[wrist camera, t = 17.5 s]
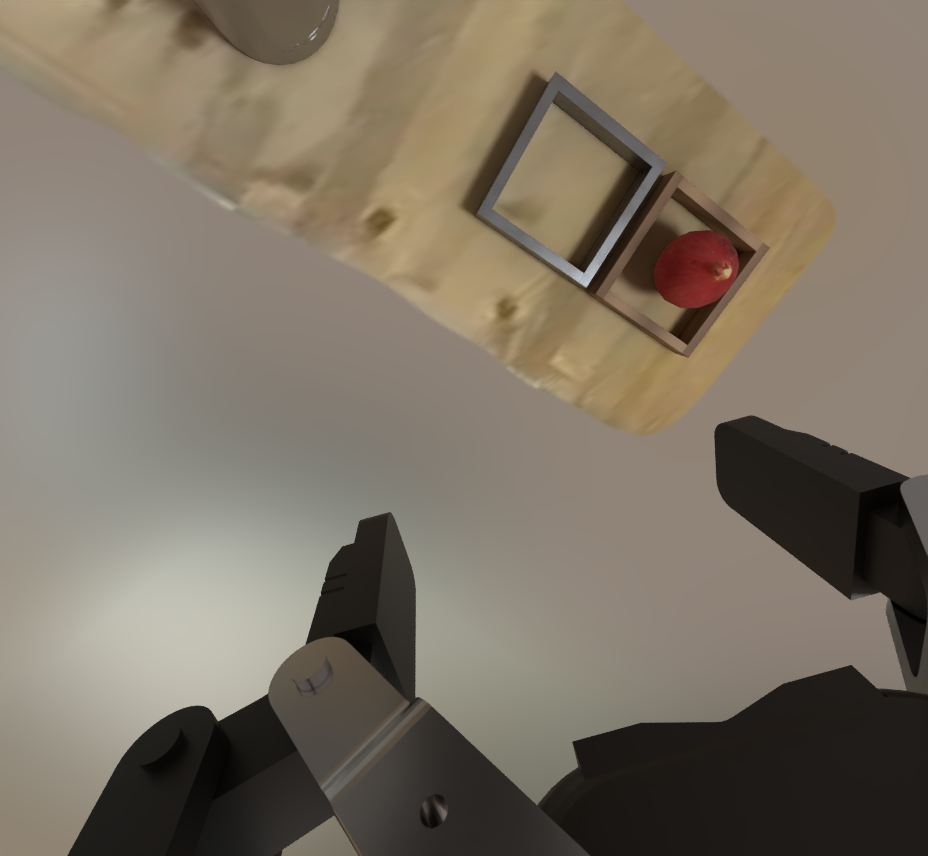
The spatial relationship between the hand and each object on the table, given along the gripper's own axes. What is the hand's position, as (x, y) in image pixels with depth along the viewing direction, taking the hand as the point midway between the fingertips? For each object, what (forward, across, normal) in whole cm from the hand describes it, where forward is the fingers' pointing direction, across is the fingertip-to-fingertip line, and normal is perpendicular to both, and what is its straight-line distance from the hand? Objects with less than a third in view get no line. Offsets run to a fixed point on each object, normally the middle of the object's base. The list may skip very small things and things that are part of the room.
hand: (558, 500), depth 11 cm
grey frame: (+30, -11, -8) cm, 33 cm away
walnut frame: (+30, -19, 0) cm, 36 cm away
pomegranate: (+30, -19, 0) cm, 36 cm away
